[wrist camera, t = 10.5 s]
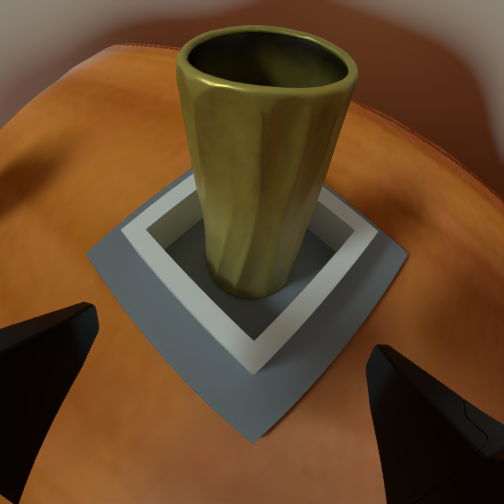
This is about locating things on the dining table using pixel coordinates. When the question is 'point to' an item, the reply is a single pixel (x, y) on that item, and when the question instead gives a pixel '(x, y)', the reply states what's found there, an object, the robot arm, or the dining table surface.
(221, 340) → the holder
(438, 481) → the robot arm
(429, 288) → the dining table surface
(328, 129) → the vase
